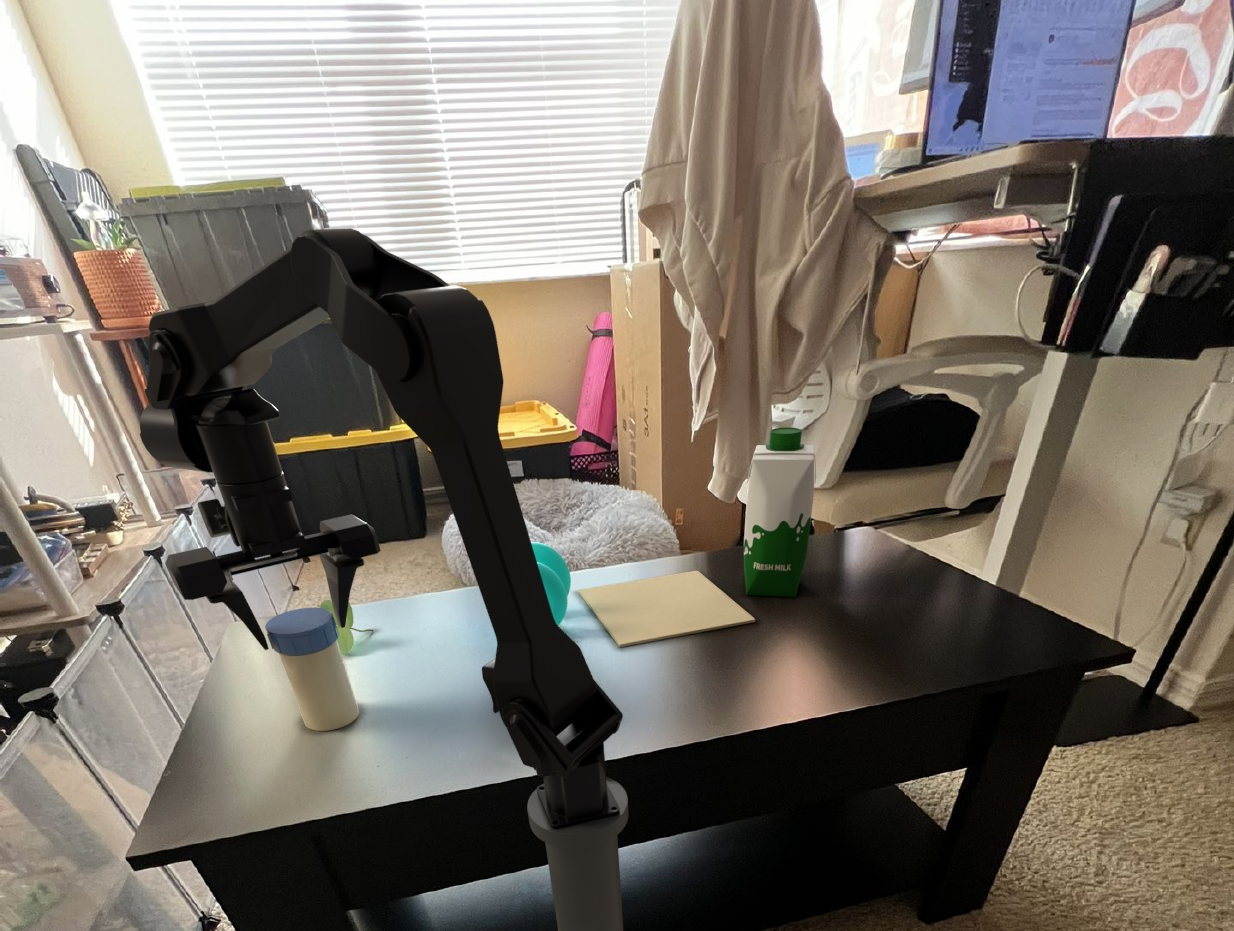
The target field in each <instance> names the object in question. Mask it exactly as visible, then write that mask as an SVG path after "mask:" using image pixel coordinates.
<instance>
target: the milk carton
mask: <svg viewBox="0 0 1234 931" xmlns="http://www.w3.org/2000/svg"><path fill="white" fill-rule="evenodd" d="M802 432H803V431H802V429H801V428H798V427H789V426H788V427H784V426H783V427H776V428H773V429H771V430H770V432H769V443H767V444H765V445H763V444H757V445H756V446H755V450H754V451H753V455H752V458H751V462H750V466H749V470H748V474H747V475H748V476H747V482H746V483H747V484H748V486H747V491H746V492H747V493H746V503H745V504H746V506H745V520H744V521H745V522H744V536H743V568H744V582H745V596H755V597H756V596H757V597H758V596H761V597H783V598H786V597H787V598H789V597H790V598H796V597H797V593H798V589H799V585H800V582H801V578H802V574H803V570H804V567H805V563H806V559H807V554H808V548H809V547H808V546H809V540H810V539H809V538H810V533H811V532H810V531H811V522H812V514H813V505H814V497H815V482H817V481H816V479H817V478H816V477H817V464H816V462H817V461H816V452H815V445H814V444H805V443H804V444H803V443H802V434H803V433H802ZM801 443H802V444H801Z"/></svg>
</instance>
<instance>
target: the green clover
mask: <svg viewBox="0 0 1234 931" xmlns="http://www.w3.org/2000/svg"><path fill="white" fill-rule="evenodd" d="M319 608H323V609H327V610H329V611H330V612H331V613H332V615H333V617H334V620H335V623H336V626H337V630H338V635H339V636H338V639H337V642H338V645H339V648H340V651H341V654H342V656H344V655H347V654H348V653H349V652H351V651H352V650H353V647H354V642H355V640H354V639H355V638H354V635H353V632H352V630H353V631H356V632H359V633H365V632H374V629H371V628H368V629H364V630H363V629H357V628H354V627H353V626H354V612H353V608H352V606H351V603H350V602H349V603H348V610H347V618H346V625H345V627H344V628H341V627H340V626H339V625H338V622H337V619H336V616H335V613H334V610H333V605H332V601H331V599H326V600H325V599H324V600H323V601H322V602H321V603H320V606H319Z"/></svg>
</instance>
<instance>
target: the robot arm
mask: <svg viewBox="0 0 1234 931" xmlns="http://www.w3.org/2000/svg"><path fill="white" fill-rule="evenodd" d="M327 320H330V321H331V324H332V326H333V328H334V330H335V333H336V334H337V336H338V339H339V341H340V342H341V343H342V345H344V346H345V347H346V348H347V349H348V350H350V351H351V352H352V353H354V354H355V355H356V356H357V357H358V358H360V359H361V360H362V361H364V362H365V363H366V364H368V365H369V366H370V367H371V368H372V369H374V371H375V373H376V375H377V377H378V379H379V381H380V384H381V385H382V388H383V389H384V392H385V394H386V396H387V398H388V400H389V402H390V404H391V406H392V408H393V411H394V412H395V414H396V415H397V416H398V417H399V418H400V420H402V422H403V423H405V425H406V426H407V427H409V429H410V430H411V431H412V432H413V433H414V434H415V435H416V436H417V437H418V438H419V439H420V441H422V442H423V443H424V444H425V446H426V447H428V448H429V450H430V452H431V454H432V456H433V459H434V462H435V465H436V467H437V470H438V474H439V476H440V479H441V482H442V485H443V488H444V491H445V494H446V496H447V500H448V502H449V505H450V508H451V511H452V515H453V518H454V520H455V523H456V526H457V528H458V532H459V534H460V537H461V540H462V543H463V545H464V546H463V547H464V548H465V551H466V554H467V557H468V561H469V564H470V566H471V568H472V571H473V574H474V578H475V580H476V583H477V586H478V589H479V592H480V595H481V598H482V600H483V604H484V606H485V609H486V612H487V615H488V618H489V621H490V624H491V627H492V630H493V632H494V635H495V639H496V651H495V657H494V659H492V660H490V661H489V662H488V663H486V664H484V665H482V667H481V677H482V680H483V682H484V684H485V686H486V688H487V690H488V692H489V695H490V698H491V702H492V711H493V713H494V714H498V713H499V715H500V716H499V717H500V719H501V721H502V723H503V725H504V727H505V728H506V730H507V732H508V734H509V737H510V739H511V741H512V743H513V746H514V747H515V750H516V752H517V755H518V756H519V759H520V761H521V762H522V765H524V766H525V767H528V768H532V769H533V770H534V771H535V773H536V775H537V776H539V777H542V778H543V783H544V785H542V784H541V785H538V786H537V787H536V789H537V794H538V796H539V799H540V801H541V804H542V806H543V809H544V811H545V814H546V816H547V819H548V821H549V824H550V826H551V828H552V829H560V828H564V827H569V826H573V825H577V824H581V823H586V822H590V821H594V820H598V819H603V818H607V817H611V816H615V815H618V814H619V813H620V809H619V806H618V804H617V802H616V800H615V799H614V797H613V795H612V793H611V791H610V789H609V787H608V785H607V782H606V777H607V770H606V754H605V742H606V741H607V740H608V739H609V738H610V737H611V736H613V735H614V734H616V733H617V732H619V730H620V727H621V724H622V721H623V717H624V715H623V712H622V711H621V710H620V709H619V708H618V707H617V705H616V704H615V703H614V702H613V700H612V699H611V698H610V697H609V696H608V694H607V693H606V692H605V691H604V690H603V688H601V686H600V685H599V684H598V682H597V681H596V680H595V679H594V677H593V674H592V673H591V669H590V668H589V665H588V663H587V661H586V658H585V656H584V654H583V650H581V647H580V646H579V644H578V643H576V641H575V640H573V638H572V637H571V636H569V635H568V633H566V632H565V631H564V629H562V628H561V627H560V626H558V625H557V624H556V622H555V620H554V617H553V614H552V611H551V608H550V604H549V601H548V597H547V594H546V591H545V587H544V584H543V581H542V577H541V574H540V571H539V567H538V564H537V561H536V557H535V554H534V551H533V547H532V544H531V542H532V540H531V537H530V533H529V531H528V527H527V523H526V521H525V518H524V514H523V511H522V507H521V504H520V501H519V497H518V494H517V491H516V488H515V484H514V480H513V477H512V475H511V471H510V468H509V464H508V460H507V458H506V454H505V450H504V447H503V444H502V440H501V437H500V432H499V420H500V413H501V405H502V398H503V391H504V375H503V369H502V363H501V357H500V351H499V350H500V349H499V345H498V344H499V343H498V339H497V332H496V328H495V324H494V321H493V318H492V316H491V313H490V311H489V309H488V307H487V305H486V303H485V302H484V300H482V299H481V298H478V297H476V296H475V295H474V293H472V292H471V291H470V290H468V289H467V288H465V287H462V286H459V285H450V284H449V283H448V282H446V281H445V280H443V278H441V277H439V275H437V274H435V273H433V272H431V271H429V270H427V269H425V268H423V267H421V266H419V265H417V264H414V263H412V262H411V261H408V260H406V259H404V258H402V257H400V256H398V255H395V254H394V253H391V252H389V251H387V250H386V249H385V248H383V247H382V246H381V245H380V244H379V243H377V242H376V241H375V240H374V239H372V238H371V237H369V236H368V235H366V234H364V233H362V232H360V231H359V230H357V229H354V228H349V227H348V228H322V229H321V228H320V229H319V228H317V229H308V230H304V231H303V232H302V233H301V234H300V235H297V236H296V237H295V239H294V240H293V241H292V242H291V245H290V247H288V248H287V249H286V250H284V251H282V252H281V253H279V254H278V255H277V256H276V257H274V258H273V259H271V260H270V261H269V262H267V263H266V264H265V265H263V266H261V267H260V268H259V269H257V270H256V271H254V272H253V273H251V274H249V276H247V277H246V278H244V279H243V280H242V281H240V282H239V283H237V284H236V285H234V286H233V287H232V288H231V289H229V290H228V291H226V292H224V294H222V295H220V296H219V297H218V298H216V299H214V300H210V301H207V302H206V301H205V302H200V303H195V304H194V303H193V304H188V305H183V306H177V307H173V308H169V309H165V310H161V311H157V312H155V313H152V316H151V317H150V319H149V323H148V331H149V332H150V333H149V335H148V376H147V382H146V388H144V394H145V397H146V399H147V401H148V404H147V405H146V406H145V408H144V409H143V411H142V413H141V415H140V418H139V437H140V439H141V442H142V445H143V446H144V448H145V450H146V451H147V452H148V453H149V455H150V456H151V457H152V458H154V459H155V460H156V461H157V462H158V463H160V464H162V465H164V466H166V467H169V468H173V469H181V470H186V471H187V470H188V471H193V472H194V471H195V472H202V473H212V474H213V477H214V479H215V482H216V485H217V487H218V490H219V492H220V496H221V498H222V500H223V503H224V505H222V503H221V502H220V500H219V499H218V498H213V499H208V500H202V501H198V502H197V508H198V510H199V513H200V515H201V519H202V521H203V524H204V526H205V528H206V530H207V533H208V534H209V536H210V538H211V539H215V538H219V537H224V536H229V535H230V537H231V539H232V542H233V545H235V547H237V548H238V547H240V549H241V550H238V551H234V552H229V553H225V554H221V555H217V556H215V554H214V553H213V552H212V551H211V550H210V549H209V548H208V547H207V546H203V547H198V548H194V549H189V550H185V551H180V552H176V553H170V554H168V555H167V558H166V560H165V563H164V564H165V567H166V569H167V572H168V574H169V576H170V578H171V581H172V583H173V585H174V587H175V588H176V589H177V591H178V592H179V594H180V595H181V597H182V598H183V600H184V601H193V600H199V599H202V598H206V600H207V601H208V602H209V603H210V604H220V603H223V604H224V605H225V606H226V607H227V608H228V609H229V610H230V612H232V613H234V615H236V617H237V618H238V619H240V621H241V622H242V623H243V624H244V625H245V627H246V629H248V631H249V632H250V633H251V634H252V636H253V637H254V638H255V639H256V641H257V642H258V644H260V646H261V647H262V648H263V650H264V651H269V649H270V648H269V645H268V642H267V639H266V638H267V637H266V636H265V634H264V632H263V630H262V628H261V626H260V624H259V622H258V620H257V618H256V616H255V614H254V612H253V610H252V609H251V606H250V604H249V603H248V600H247V598H246V596H245V594H244V592H243V591H242V590H241V588H240V587H239V586H238V585H237V584H236V583H235V582H234V578H233V576H236V575H240V574H244V573H249V572H252V571H257V570H261V569H265V568H269V567H274V566H277V565H280V564H281V565H282V564H286V563H289V562H290V563H291V562H293V561H298V560H301V559H307V558H311V557H314V556H319V559H320V561H321V564H322V567H323V570H324V572H325V577H326V581H327V586H328V590H329V595H330V601H331V602H332V605H333V610H334V613H335V616H336V619H337V622H338V625H339V626H340V627H341V628H344V627H345V625H346V618H347V610H348V603H349V604H350V596H351V591H352V587H353V583H354V580H355V576H356V572H357V569H358V568H361V567H363V566H365V560H364V558H365V557H369V556H373V555H378V554H379V553H380V552H381V547H380V542H379V539H378V535H377V532H376V531H375V528H374V527H373V526H371V524H368V522H365V521H363V520H362V519H360V518H358V517H357V516H355V515H353V514H347V515H343V516H338V517H334V518H333V517H332V518H329V519H324V520H320V521H319V530H320V532H318V533H312V534H308V535H304V534H303V532H302V529H301V526H300V523H299V520H298V519H299V518H298V516H297V513H296V510H295V506H294V504H293V501H294V498H293V496H292V493H291V490H290V488H289V487H288V484H287V481H286V478H285V474H284V472H283V468H282V465H281V462H280V459H279V455H278V453H277V450H276V446H275V442H274V440H273V436H272V434H271V430H270V427H269V423H268V422H270V421H274V420H279V419H280V417H281V413H280V411H279V409H277V407H276V406H274V405H273V404H272V403H271V402H269V401H268V400H267V399H264V398H263V397H262V396H261V395H260V394H259V393H258V392H257V390H256V389H255V388H248V386H250V385H251V386H252V385H254V384H256V383H257V382H258V381H259V380H260V379H261V378H262V377H263V376H264V375H265V373H266V372H267V371H268V370H269V369H270V368H271V366H272V363H273V357H272V355H273V353H275V351H276V350H278V348H281V346H283V345H285V344H287V343H288V342H290V341H292V340H294V339H296V338H298V337H299V336H301V335H303V334H305V333H306V332H308V331H309V330H312V329H313V328H314V327H316V326H318V325H320V324H321V323H322V324H323V323H324V322H325V321H327Z"/></svg>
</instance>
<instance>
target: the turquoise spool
mask: <svg viewBox="0 0 1234 931" xmlns="http://www.w3.org/2000/svg"><path fill="white" fill-rule="evenodd" d="M531 544H532V547H533V551H534V554H535V557H536V561H537V564H538V567H539V571H540V574H541V577H542V581H543V584H544V587H545V591H546V594H547V597H548V601H549V604H550V608H551V611H552V614H553V617H554V620H555V622H556V624H557V625H558V626H559V625H561V623H562V622H563V620H564V618H565V616H566V613H567V609H568V597H569V594H570V590H571V585H572V578H571V572H570V569H569V566H568V565H567V562H566V560H565V558H563V556H562V555H561V554H560V553H559V552H558V551H557V550H556V549H554V548H553V547H551V546H550V545H547V544H545V543H542V542H537V541H531ZM559 627H560V626H559Z"/></svg>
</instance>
